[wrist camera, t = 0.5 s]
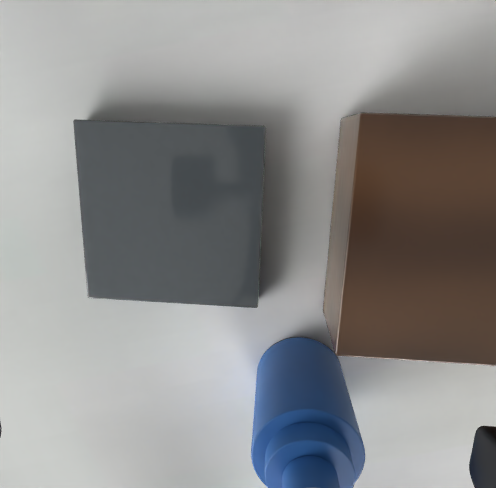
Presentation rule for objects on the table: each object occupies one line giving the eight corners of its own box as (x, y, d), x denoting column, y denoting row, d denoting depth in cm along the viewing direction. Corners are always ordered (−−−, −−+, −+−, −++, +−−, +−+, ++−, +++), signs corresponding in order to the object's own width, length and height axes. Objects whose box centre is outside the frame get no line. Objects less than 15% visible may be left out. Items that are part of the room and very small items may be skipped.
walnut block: (513, 322, 21) (576, 371, 16) (322, 311, 21) (335, 356, 17) (559, 125, 18) (650, 121, 14) (340, 118, 18) (360, 112, 14)
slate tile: (258, 299, 21) (257, 308, 20) (97, 289, 22) (87, 298, 21) (266, 126, 19) (265, 125, 18) (84, 120, 19) (72, 119, 18)
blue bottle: (337, 413, 23) (379, 595, 14) (255, 407, 23) (243, 581, 14) (345, 339, 21) (397, 486, 12) (258, 334, 22) (247, 474, 13)
